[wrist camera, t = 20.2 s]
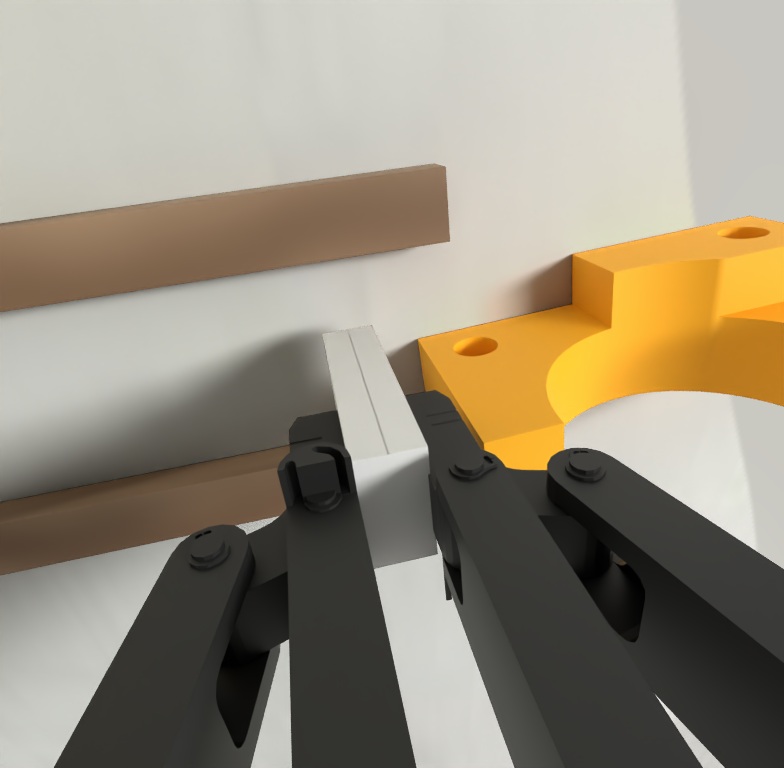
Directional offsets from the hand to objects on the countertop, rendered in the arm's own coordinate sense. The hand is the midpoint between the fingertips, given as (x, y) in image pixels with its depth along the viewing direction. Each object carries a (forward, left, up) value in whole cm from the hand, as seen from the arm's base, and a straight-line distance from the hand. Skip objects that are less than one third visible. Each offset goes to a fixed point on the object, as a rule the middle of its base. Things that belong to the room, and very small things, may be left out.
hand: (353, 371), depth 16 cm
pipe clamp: (0, +8, -2) cm, 9 cm away
